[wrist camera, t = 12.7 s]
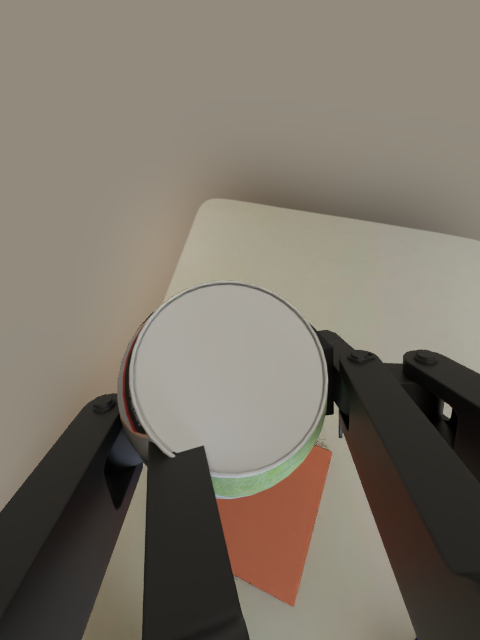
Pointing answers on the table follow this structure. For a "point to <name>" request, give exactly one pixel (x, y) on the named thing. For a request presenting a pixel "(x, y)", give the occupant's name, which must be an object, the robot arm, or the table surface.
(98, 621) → the table surface
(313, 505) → the clay mat
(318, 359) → the beverage can
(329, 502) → the table surface
